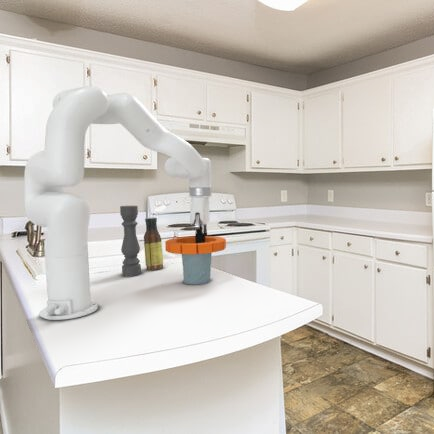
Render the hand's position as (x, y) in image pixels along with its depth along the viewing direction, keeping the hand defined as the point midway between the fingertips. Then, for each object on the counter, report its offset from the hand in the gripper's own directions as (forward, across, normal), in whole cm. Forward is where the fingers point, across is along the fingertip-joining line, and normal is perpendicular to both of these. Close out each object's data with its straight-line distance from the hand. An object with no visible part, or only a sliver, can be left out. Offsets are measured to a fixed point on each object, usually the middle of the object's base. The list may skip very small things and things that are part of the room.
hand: (201, 243), depth 146 cm
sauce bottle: (+12, -12, -21) cm, 27 cm away
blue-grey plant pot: (+12, +8, 0) cm, 14 cm away
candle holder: (+12, -3, -26) cm, 29 cm away
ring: (0, +8, 0) cm, 8 cm away
